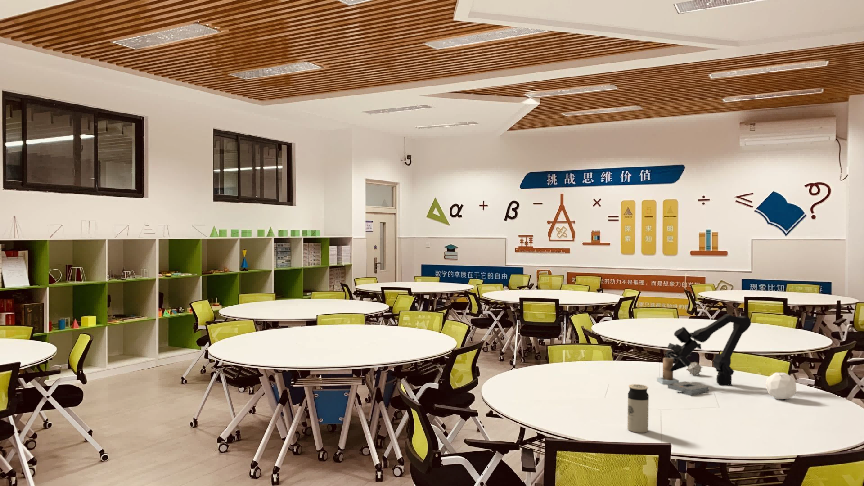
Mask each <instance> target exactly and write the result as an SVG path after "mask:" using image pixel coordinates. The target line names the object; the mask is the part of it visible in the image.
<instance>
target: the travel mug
mask: <svg viewBox="0 0 864 486" xmlns="http://www.w3.org/2000/svg"><path fill="white" fill-rule="evenodd" d="M628 388H629V391H628V393H627V430H628V431H630V432H632V433H639V434H641V433H642V434H643V433H644V434H645V433H647V432H648V431H649V397H650V395H649V393H648V389H649V387H648V385H645V384H639V383H638V384H636V383H635V384H634V383H632V384H629V385H628Z"/></svg>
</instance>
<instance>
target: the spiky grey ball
mask: <svg viewBox="0 0 864 486" xmlns="http://www.w3.org/2000/svg"><path fill="white" fill-rule="evenodd" d="M686 371H688V372H689V375H690V374H691V375H693V377H694V376H696V375H698V376H700V372H701V373H702V366H701V365H700V362H696V361H694V362H692V361H691V364H690V365H689V366H688V367H687V369H686Z"/></svg>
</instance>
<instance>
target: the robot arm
mask: <svg viewBox="0 0 864 486" xmlns="http://www.w3.org/2000/svg"><path fill="white" fill-rule="evenodd" d="M729 323H732V326H733V327H732V328H733V329H732V332H731V334H730V335H729V338H728V340H727V341H726V342H725V343H726V344H725V346H724V347H723V349H722V351H721V353H720V354H715V356H714V359H713V360H712V361H713V363H712V366H713V367H714V368H715V371H716V372H717V375H716V383H717V384H718V385H719V386H728V387H729V386H732V387H733V384H732V378H733V376H732V375H734V373H735V370H733V369H732V367H731V363H732V362H731V361H732V360H731V359H732V356H733V353H734V351H735V349H736V347H737V345H738V343H739V341H740V339H741V337H742V336H743V334H744V333H745V332H746V331H748V329H749V328H750V326H751V325H752V321H751V319H750V318H749V317H747V316H744V315H738V316H735V315H731V314H727V313H726V314H723V316H721V317H720V318H718V319H716V320H715V321H713V322H712V323H710V324H708V325H706V326H705V327H702V328H699V329H697V330H694V331H693V332H689V331H688V330H687V328H686V327H685V326H682V327H681V328H678V329H676V330H675V331H674V332H673V333H674V334H673V336H675V338H677V339H678V341H679V342H680V343H683V345H680V344H678V343H676V344H674V343H671V342H669V343H668V345H667V349H668V350H667V351H666V352H665V356H666V358H672V359H673V367H672V368H671V369H670V371H673V372H674V371H677V370H680V369H683V368H688V366H689V365H690V364H691V363H692V361H690V360H689V359H688V357H691V356H692V353H693V352H694V351H695V350H696V349H699V350H701V349H702V344H701V343H705V342H707V341H708V340H709V339H710V338H711V337H712V335H713V334H715V332H717V331H719V330H720V329H722V328H723V327H725V326H726V325H729Z"/></svg>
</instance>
